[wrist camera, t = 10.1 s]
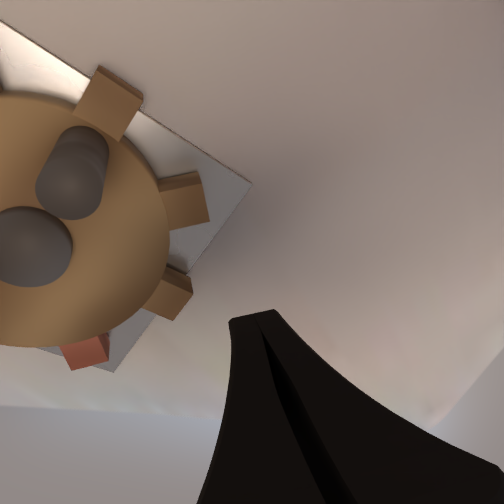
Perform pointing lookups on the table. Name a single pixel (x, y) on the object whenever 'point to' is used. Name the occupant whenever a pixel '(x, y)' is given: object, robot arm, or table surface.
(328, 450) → the robot arm
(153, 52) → the table surface
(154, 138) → the thin square base plate
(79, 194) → the sprocket
